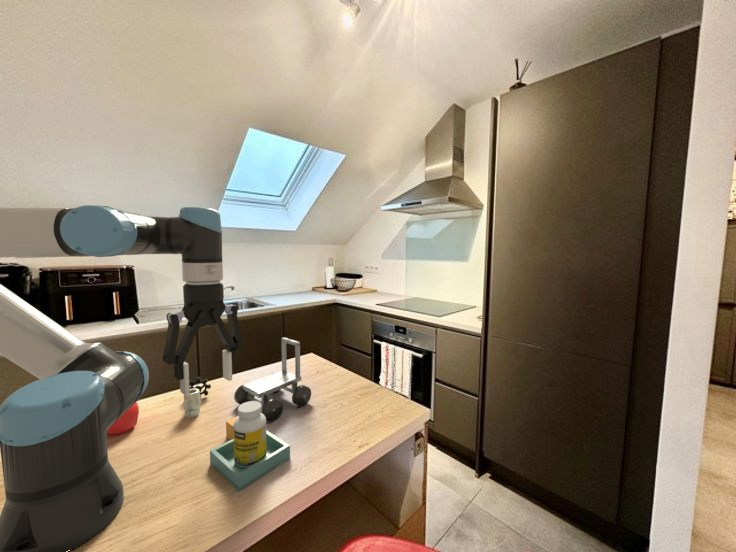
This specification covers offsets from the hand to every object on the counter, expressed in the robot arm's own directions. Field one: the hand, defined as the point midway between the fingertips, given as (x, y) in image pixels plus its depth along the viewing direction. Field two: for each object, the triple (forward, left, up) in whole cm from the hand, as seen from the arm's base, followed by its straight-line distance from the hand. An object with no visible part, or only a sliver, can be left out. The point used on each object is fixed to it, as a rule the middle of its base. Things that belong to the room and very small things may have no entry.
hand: (207, 385), depth 66 cm
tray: (+4, -10, -15) cm, 19 cm away
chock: (+7, 0, -15) cm, 17 cm away
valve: (+6, +23, -16) cm, 28 cm away
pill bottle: (+4, -10, -15) cm, 18 cm away
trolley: (+21, +7, -15) cm, 27 cm away
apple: (-10, +26, -16) cm, 32 cm away
